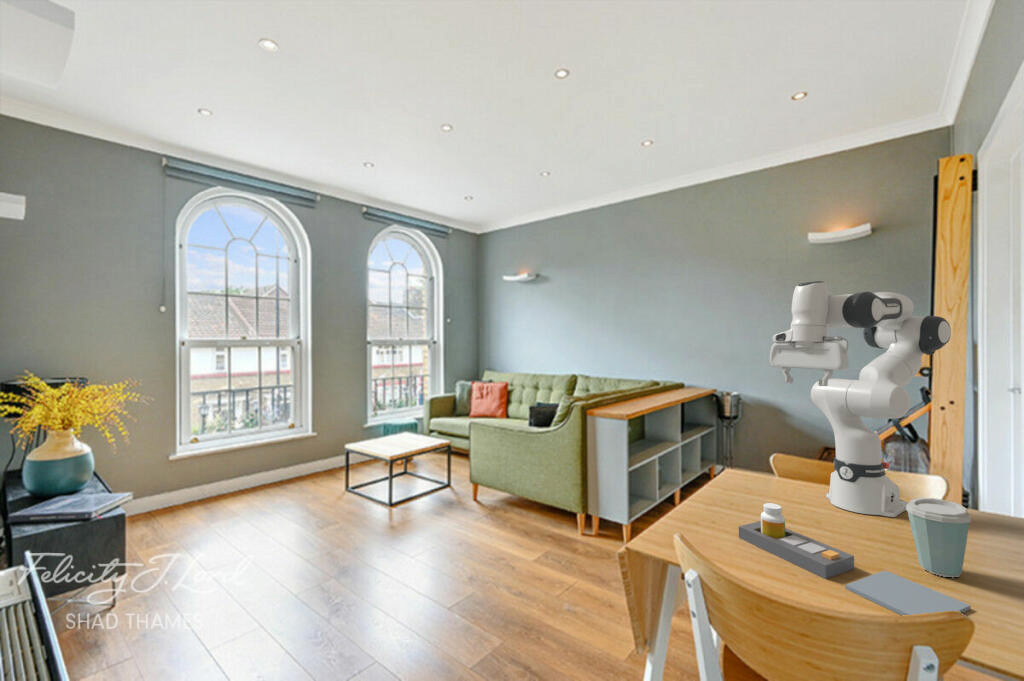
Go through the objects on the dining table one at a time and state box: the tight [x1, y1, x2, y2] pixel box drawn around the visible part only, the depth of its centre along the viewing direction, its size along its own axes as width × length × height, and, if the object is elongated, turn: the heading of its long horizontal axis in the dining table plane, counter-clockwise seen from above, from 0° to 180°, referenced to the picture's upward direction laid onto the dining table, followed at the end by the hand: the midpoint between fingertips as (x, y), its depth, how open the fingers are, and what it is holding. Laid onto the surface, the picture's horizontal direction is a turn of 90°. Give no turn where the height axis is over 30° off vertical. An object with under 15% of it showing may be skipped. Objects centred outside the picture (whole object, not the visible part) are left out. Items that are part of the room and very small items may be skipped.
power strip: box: [738, 520, 855, 580], centre depth 108 cm, size 10×22×4 cm, turn 23°
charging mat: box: [845, 569, 971, 616], centre depth 88 cm, size 14×14×1 cm
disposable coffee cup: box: [905, 497, 973, 579], centre depth 98 cm, size 11×11×15 cm
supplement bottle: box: [760, 502, 786, 539], centre depth 113 cm, size 5×5×10 cm
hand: (805, 384), depth 126 cm, fingers open, 8 cm apart
